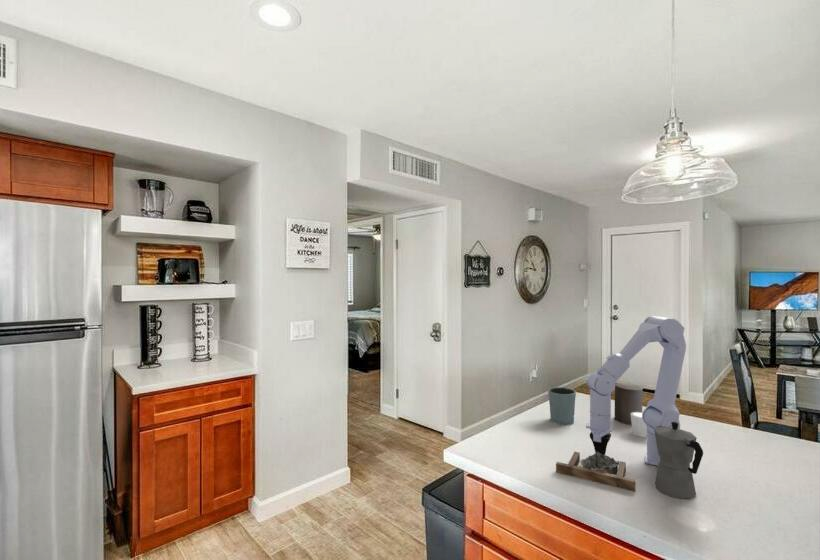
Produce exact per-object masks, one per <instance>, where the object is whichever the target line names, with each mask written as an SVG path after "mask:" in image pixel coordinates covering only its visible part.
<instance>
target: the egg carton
mask: <svg viewBox="0 0 820 560" xmlns="http://www.w3.org/2000/svg"><path fill="white" fill-rule="evenodd" d="M580 462H581V463H580V465H581V466H582V468H587V469H591V470H596V471H600V472H604V473H609V474H613V473H616V474H617V471H618V467H619V463H620V460H617V461H616V460H615V459H614V457H611V456H609V455H606V453H605V454H604V455H602V454H601V453H599V452H598V451H597V452H596V453H595V452H594V453H593V454H591V455H589V456H588V457H585V458H583V459H581V460H580ZM597 465H598V467H597ZM613 475H614V474H613Z"/></svg>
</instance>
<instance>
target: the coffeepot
mask: <svg viewBox="0 0 820 560" xmlns="http://www.w3.org/2000/svg"><path fill="white" fill-rule="evenodd" d="M671 424H672V428H669V427H665V426H656V427H657V429H654V431H655V438H656V444H657V450H658V455H659V456H660V462H659V464H658V466H657V468H656V469H657V470H656V474H655V479H654V485H655V488H656V489H657V490H658V491H659V492H660V493H662V494H664V495H666V496H668V497H671V498H675V499H679V500H680V499H681V500H690V499H693V498H694V497H695V496H697V492H696V487H695V481H694V477H693V474H694V475H696V474H697V473H698V470H699V468H700V464H701V462H702V458H703V455H704V451H703V448H702V447H701V445H700V443H699V442H698V441H697V437H696V435H694V434H693V433H692V432H690V431H687V430H684V429H682V428H680V429H678V423H677V422H671ZM693 457H694V458H693ZM691 463H692V465H691ZM691 466H692V467H691Z"/></svg>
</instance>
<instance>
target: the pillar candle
mask: <svg viewBox="0 0 820 560" xmlns="http://www.w3.org/2000/svg"><path fill="white" fill-rule="evenodd" d="M643 391H644V389H643V386H641V385H638V384H634V383H630V382H616V383H615V389H614V410H613V411H614V420H615V422H618V423H620V424H623V425H624V424H625V425H630V426H632V423H631V413H632V412H643Z"/></svg>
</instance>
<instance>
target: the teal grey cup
mask: <svg viewBox="0 0 820 560" xmlns="http://www.w3.org/2000/svg"><path fill="white" fill-rule="evenodd" d="M547 391H548V398H549V399H548V400H549V401H548V403H549V414H550V421H551V422H552V423H554V424H557V425H564V426H570V425H573V424H574V422H575V412H576V411H575V410H576V398H577V397H576V396H577V395H576V394H577V392H576V390H574V389H572V388H569V387H562V386H554V387H550V388H548V390H547Z"/></svg>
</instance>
